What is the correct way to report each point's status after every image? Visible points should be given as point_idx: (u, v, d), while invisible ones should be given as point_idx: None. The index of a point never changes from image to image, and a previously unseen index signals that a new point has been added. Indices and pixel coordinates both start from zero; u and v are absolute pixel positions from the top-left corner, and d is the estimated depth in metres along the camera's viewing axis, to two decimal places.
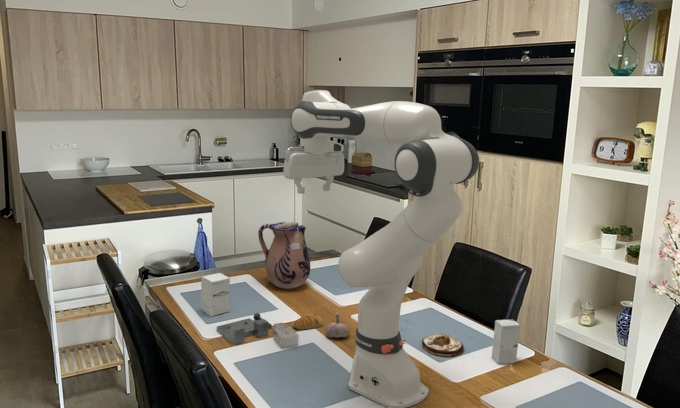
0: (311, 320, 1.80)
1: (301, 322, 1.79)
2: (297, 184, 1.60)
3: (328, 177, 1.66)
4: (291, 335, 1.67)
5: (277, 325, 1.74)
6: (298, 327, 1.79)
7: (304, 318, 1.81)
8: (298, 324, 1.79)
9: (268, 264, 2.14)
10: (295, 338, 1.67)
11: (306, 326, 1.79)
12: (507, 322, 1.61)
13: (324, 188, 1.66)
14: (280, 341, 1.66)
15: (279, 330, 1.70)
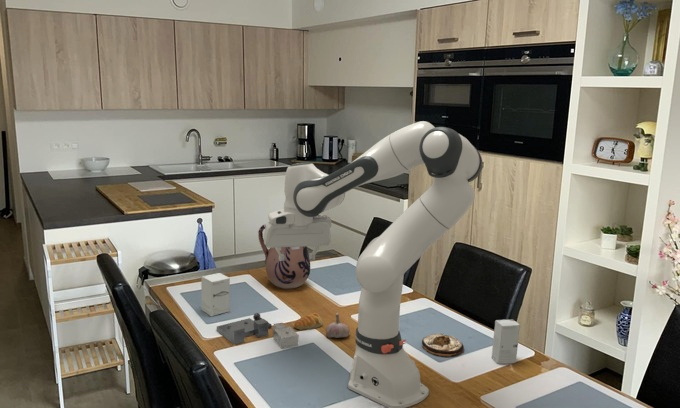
0: (312, 320, 1.80)
1: (302, 322, 1.79)
2: None
3: None
4: (291, 335, 1.67)
5: (277, 325, 1.74)
6: (299, 327, 1.79)
7: (305, 318, 1.81)
8: (299, 324, 1.79)
9: (268, 264, 2.14)
10: (295, 338, 1.67)
11: (307, 327, 1.79)
12: (507, 322, 1.61)
13: (283, 258, 1.65)
14: (280, 341, 1.66)
15: (279, 330, 1.70)
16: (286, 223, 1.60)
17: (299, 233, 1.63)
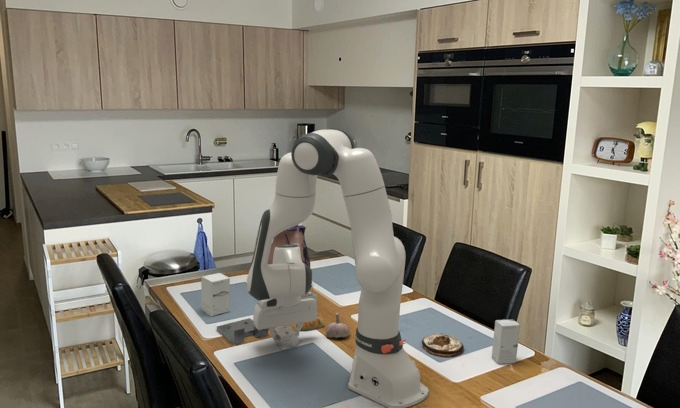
0: (314, 321, 1.80)
1: (304, 323, 1.79)
2: None
3: None
4: (291, 335, 1.67)
5: None
6: (301, 328, 1.78)
7: None
8: None
9: None
10: (295, 338, 1.67)
11: (309, 327, 1.79)
12: (507, 322, 1.61)
13: None
14: (280, 341, 1.66)
15: (279, 330, 1.70)
16: (277, 305, 1.62)
17: (288, 312, 1.67)
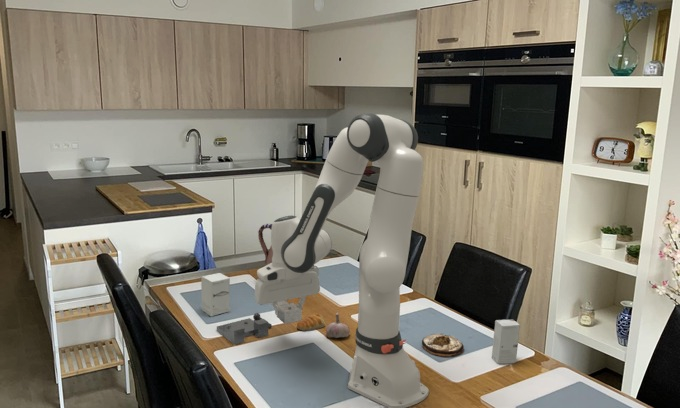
0: (314, 321, 1.80)
1: (304, 323, 1.79)
2: None
3: None
4: (294, 310, 1.65)
5: (279, 302, 1.72)
6: (302, 328, 1.78)
7: (307, 319, 1.80)
8: (302, 325, 1.78)
9: None
10: (298, 312, 1.65)
11: (310, 327, 1.78)
12: (507, 322, 1.61)
13: None
14: (283, 316, 1.64)
15: (282, 306, 1.68)
16: (277, 278, 1.60)
17: (290, 286, 1.64)
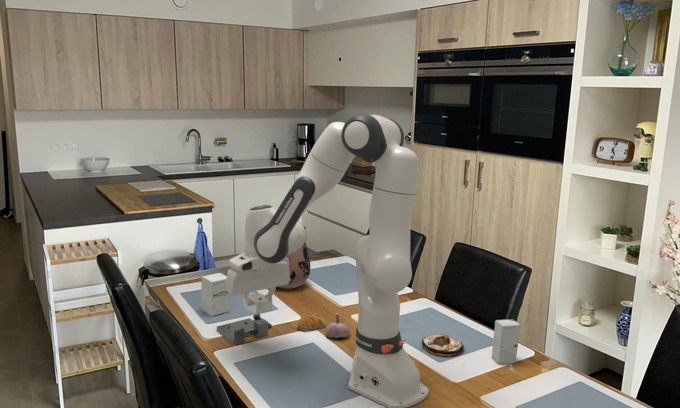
0: (315, 321, 1.80)
1: (305, 323, 1.79)
2: None
3: None
4: (265, 300, 1.63)
5: None
6: (302, 328, 1.78)
7: (308, 319, 1.80)
8: (302, 325, 1.78)
9: None
10: (269, 303, 1.63)
11: (310, 328, 1.78)
12: (507, 322, 1.61)
13: None
14: (254, 307, 1.61)
15: (251, 297, 1.65)
16: (252, 268, 1.57)
17: (262, 276, 1.62)
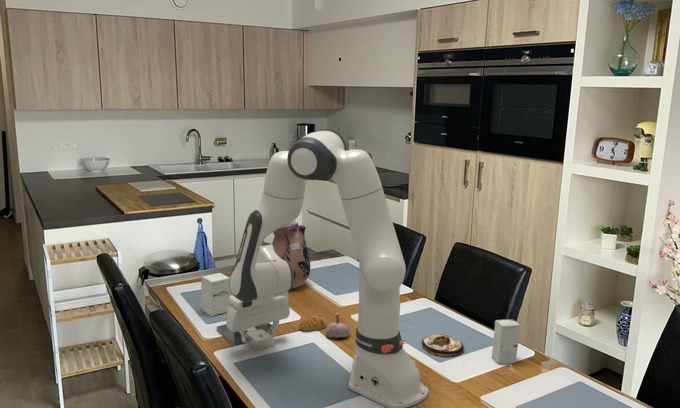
0: (317, 321, 1.79)
1: (307, 324, 1.78)
2: None
3: None
4: (266, 337, 1.65)
5: (248, 329, 1.70)
6: (304, 329, 1.77)
7: (309, 320, 1.80)
8: (304, 326, 1.78)
9: None
10: (269, 340, 1.65)
11: (312, 328, 1.78)
12: (507, 322, 1.61)
13: None
14: (255, 344, 1.63)
15: (252, 333, 1.67)
16: (252, 305, 1.59)
17: (262, 312, 1.64)
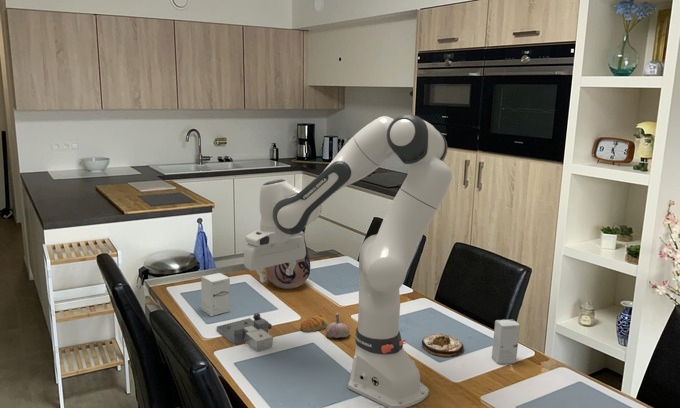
0: (318, 322, 1.79)
1: (308, 324, 1.78)
2: None
3: None
4: (266, 337, 1.65)
5: (248, 329, 1.70)
6: (305, 329, 1.77)
7: (310, 320, 1.80)
8: (305, 326, 1.77)
9: None
10: (269, 340, 1.65)
11: (313, 328, 1.78)
12: (507, 322, 1.61)
13: None
14: (255, 344, 1.63)
15: (252, 333, 1.67)
16: (269, 243, 1.58)
17: (279, 251, 1.63)
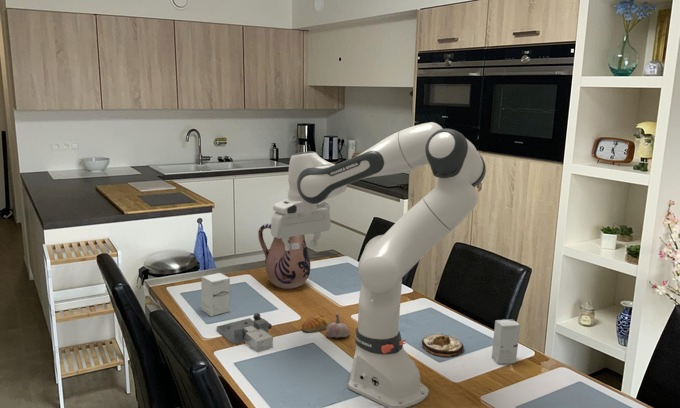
0: (319, 322, 1.79)
1: (309, 324, 1.78)
2: None
3: None
4: (266, 337, 1.65)
5: (248, 329, 1.70)
6: (307, 330, 1.77)
7: (312, 320, 1.79)
8: (307, 327, 1.77)
9: (268, 264, 2.14)
10: (269, 340, 1.65)
11: (315, 328, 1.78)
12: (507, 322, 1.61)
13: None
14: (255, 344, 1.63)
15: (252, 333, 1.67)
16: (296, 212, 1.61)
17: (305, 221, 1.66)
